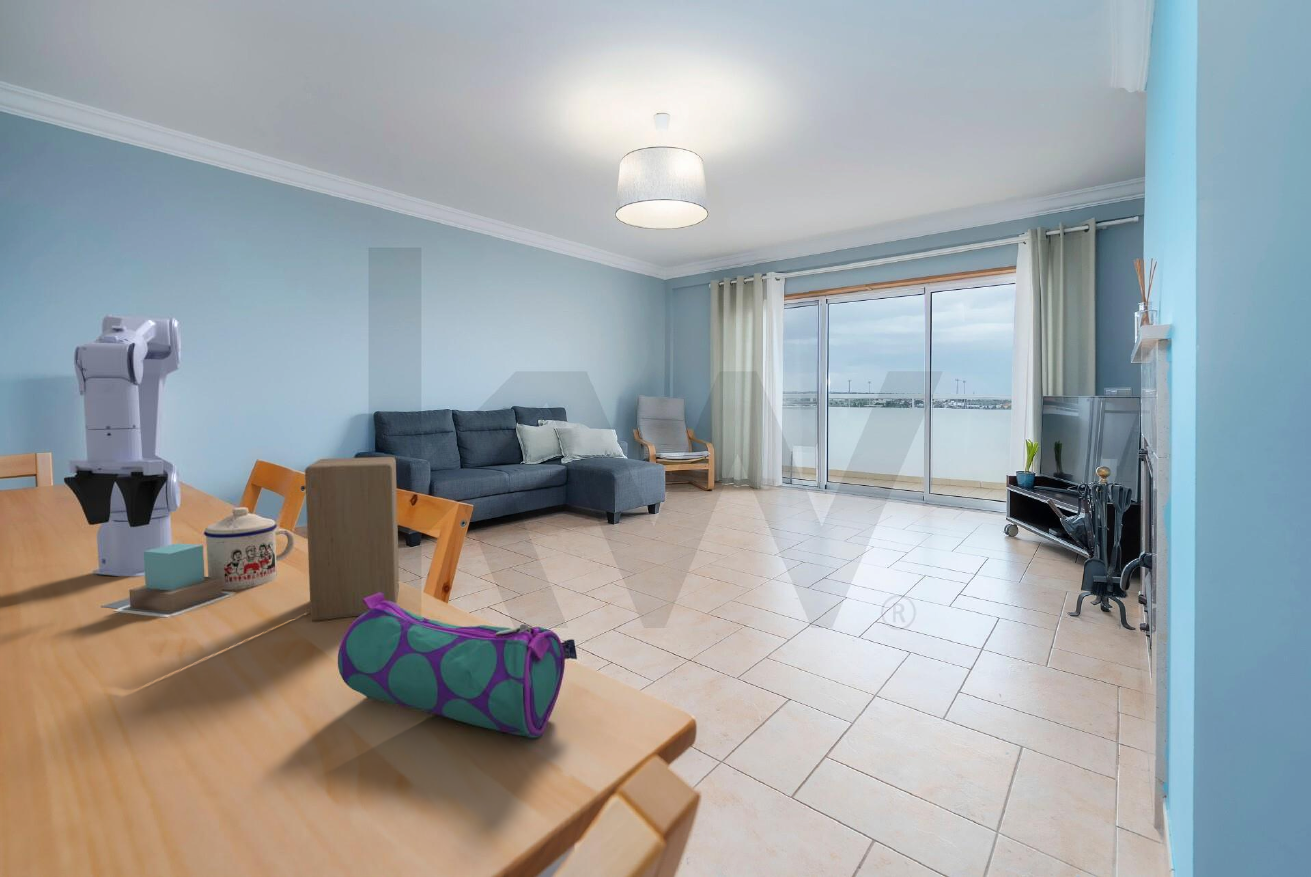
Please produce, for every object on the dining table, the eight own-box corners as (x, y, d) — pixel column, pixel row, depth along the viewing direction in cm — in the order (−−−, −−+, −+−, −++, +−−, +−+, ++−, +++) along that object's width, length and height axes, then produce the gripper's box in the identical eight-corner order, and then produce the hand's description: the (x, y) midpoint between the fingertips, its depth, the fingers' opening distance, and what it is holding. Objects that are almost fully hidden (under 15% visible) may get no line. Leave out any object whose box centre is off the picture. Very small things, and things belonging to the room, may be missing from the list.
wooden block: (323, 597, 85) (318, 458, 83) (399, 589, 88) (395, 456, 87) (310, 622, 76) (304, 467, 74) (395, 612, 79) (391, 464, 78)
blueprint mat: (93, 611, 79) (93, 608, 79) (168, 588, 88) (167, 585, 88) (169, 620, 76) (169, 617, 76) (237, 595, 85) (237, 592, 85)
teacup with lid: (223, 597, 85) (219, 516, 84) (195, 586, 89) (191, 509, 89) (309, 575, 95) (306, 503, 94) (280, 566, 100) (277, 498, 99)
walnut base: (130, 608, 79) (129, 589, 79) (183, 591, 86) (182, 574, 86) (171, 612, 77) (170, 594, 77) (221, 595, 84) (221, 578, 84)
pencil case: (578, 707, 56) (577, 607, 55) (528, 762, 48) (526, 645, 47) (401, 672, 63) (398, 583, 62) (330, 714, 54) (326, 612, 54)
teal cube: (145, 587, 80) (143, 551, 79) (179, 577, 84) (177, 543, 84) (172, 590, 79) (169, 553, 78) (204, 580, 83) (203, 545, 83)
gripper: (40, 429, 81) (46, 528, 82) (121, 430, 78) (127, 532, 78) (99, 427, 88) (104, 518, 89) (176, 428, 84) (181, 522, 85)
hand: (119, 524), depth 84 cm, fingers open, 7 cm apart
